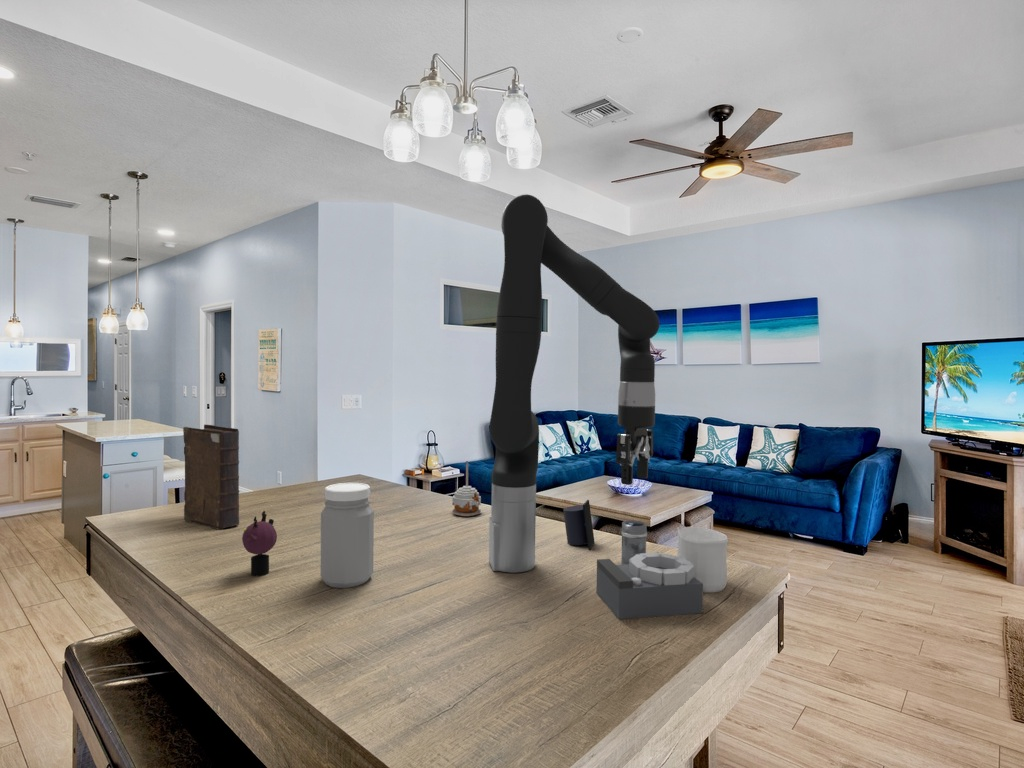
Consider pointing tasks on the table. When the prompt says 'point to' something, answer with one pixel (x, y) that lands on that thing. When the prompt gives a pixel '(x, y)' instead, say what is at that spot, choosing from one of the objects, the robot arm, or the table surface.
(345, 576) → the jar
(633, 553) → the lens
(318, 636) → the table surface
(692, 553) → the cup
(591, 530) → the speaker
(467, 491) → the decorative ornament
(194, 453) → the book
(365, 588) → the table surface
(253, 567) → the figurine
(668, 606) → the camera body
